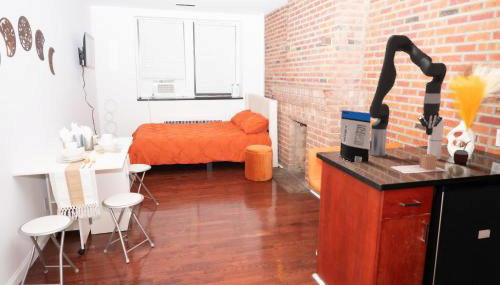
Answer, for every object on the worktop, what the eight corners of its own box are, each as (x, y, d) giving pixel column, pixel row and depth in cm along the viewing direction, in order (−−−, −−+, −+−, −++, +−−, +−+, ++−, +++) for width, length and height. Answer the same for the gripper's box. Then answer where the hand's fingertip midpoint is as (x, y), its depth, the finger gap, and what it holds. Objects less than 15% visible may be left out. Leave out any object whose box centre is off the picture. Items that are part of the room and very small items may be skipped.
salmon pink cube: (426, 169, 171) (427, 156, 170) (419, 166, 176) (420, 154, 175) (435, 168, 172) (437, 156, 170) (428, 166, 177) (429, 153, 176)
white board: (403, 176, 165) (403, 173, 165) (389, 169, 178) (389, 166, 178) (445, 173, 169) (446, 170, 169) (428, 166, 181) (429, 164, 181)
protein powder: (362, 165, 186) (364, 113, 181) (334, 157, 208) (335, 110, 202) (374, 163, 190) (377, 112, 184) (345, 155, 212) (347, 109, 206)
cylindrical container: (425, 160, 195) (428, 119, 190) (428, 158, 200) (431, 118, 195) (438, 162, 190) (442, 120, 185) (441, 159, 195) (445, 118, 190)
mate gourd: (453, 162, 190) (456, 137, 187) (469, 164, 185) (472, 138, 182) (451, 165, 184) (454, 139, 181) (468, 167, 179) (471, 140, 176)
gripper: (438, 101, 173) (435, 133, 176) (415, 102, 171) (412, 134, 174) (448, 102, 165) (445, 135, 169) (425, 103, 163) (422, 136, 167)
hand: (428, 134), depth 172 cm, fingers closed
